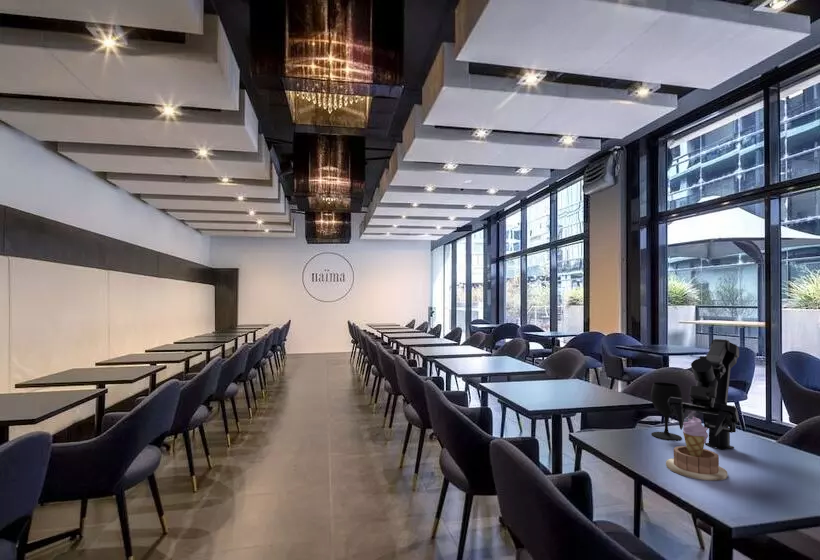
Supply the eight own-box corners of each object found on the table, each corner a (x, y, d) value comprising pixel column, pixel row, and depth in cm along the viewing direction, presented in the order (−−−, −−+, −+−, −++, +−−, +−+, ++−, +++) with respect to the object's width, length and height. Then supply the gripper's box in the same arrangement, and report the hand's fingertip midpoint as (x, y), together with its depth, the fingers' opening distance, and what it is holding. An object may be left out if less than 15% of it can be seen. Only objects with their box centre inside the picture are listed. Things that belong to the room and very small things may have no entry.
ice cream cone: (708, 465, 141) (707, 416, 142) (710, 472, 136) (708, 421, 136) (683, 461, 144) (682, 414, 145) (684, 468, 139) (682, 418, 140)
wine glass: (678, 434, 178) (678, 383, 179) (685, 442, 168) (684, 387, 169) (649, 431, 181) (648, 381, 182) (653, 438, 171) (653, 385, 172)
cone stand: (690, 458, 150) (690, 441, 150) (740, 476, 135) (740, 458, 135) (654, 464, 145) (654, 446, 145) (701, 483, 130) (701, 464, 130)
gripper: (668, 372, 153) (658, 411, 145) (736, 380, 140) (729, 423, 131) (675, 392, 158) (666, 431, 150) (741, 401, 145) (735, 444, 137)
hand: (697, 431), depth 142 cm, fingers open, 9 cm apart
